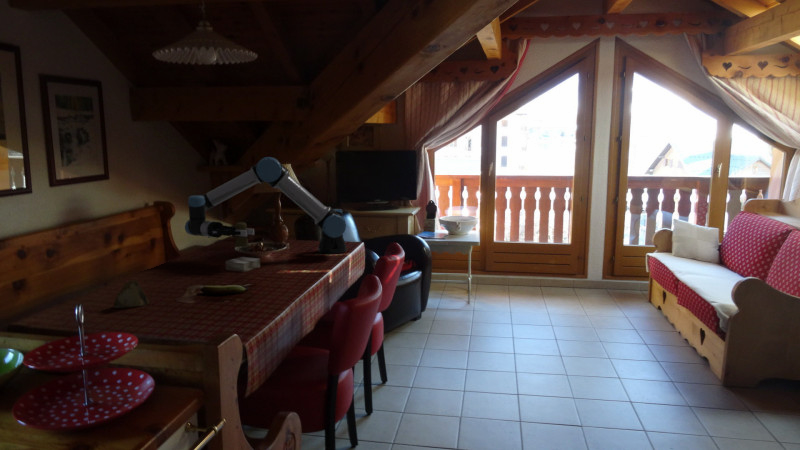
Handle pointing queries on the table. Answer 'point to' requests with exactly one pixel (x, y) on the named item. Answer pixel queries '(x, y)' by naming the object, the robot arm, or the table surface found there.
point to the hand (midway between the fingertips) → (250, 232)
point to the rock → (130, 296)
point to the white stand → (242, 264)
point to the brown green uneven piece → (212, 291)
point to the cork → (241, 240)
